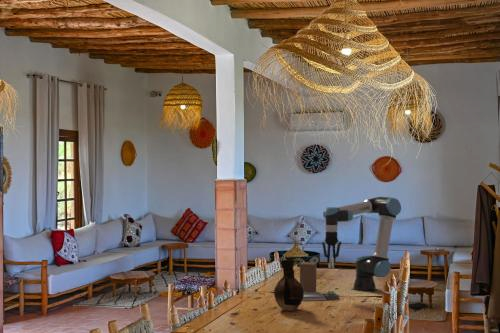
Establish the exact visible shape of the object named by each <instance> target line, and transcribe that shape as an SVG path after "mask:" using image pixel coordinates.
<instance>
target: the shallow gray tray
mask: <svg viewBox="0 0 500 333" xmlns="http://www.w3.org/2000/svg"><path fill="white" fill-rule="evenodd" d="M326 300H327V299H326V298H325V296H324V295H323V293H321V292H320V291H316V292H304V296H303V300H302V302H303V301H307V302H308V301H326Z"/></svg>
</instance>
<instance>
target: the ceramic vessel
mask: <svg viewBox="0 0 500 333" xmlns="http://www.w3.org/2000/svg"><path fill="white" fill-rule="evenodd" d="M279 261H280V265H281V267H282V270H283V276H282V277H281V278H280V279H279V280H278V282H277V283H276V285H275V287H274V290H273V295H274V299H275V302H276V304H277V305H278V307H279V308H280V309H281V310H283V311H287V312H288V311H289V312H294V311H296V310H297V309H298V308H299V306H300V305H301V304H302V302H303V301H302V300H303V296H304V292H303V288H302V286H301V284H300V281H299V280H298V279H297V278H296V277H295V272H296V271H295V270H294V264H295V259H294V258H293V259H286V260H285V259H284V260H279Z"/></svg>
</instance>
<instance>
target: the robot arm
mask: <svg viewBox="0 0 500 333" xmlns="http://www.w3.org/2000/svg"><path fill="white" fill-rule="evenodd" d="M401 211H402V205H401V202H400V201H399V200H398V199H397V198H396V197H389V196H388V197H386V196H375V197H373V198H368V199H365V200H363V201H362V202H361V201H360V202H358V203H357V202H356V203H351V204H347V205H342V206H338V207H336V206H331V207H330V206H329V207H326V208H325V209H324V210H323V212H322V215H323V218H324V219H325V239H324V240H322V241H321V245H322V250H323V255H324V257H325V258H326V262H327V264H328V268H329V269H331V268H332V269H335V263H336V259H337V257H339V256H340V248H341V246H342V243H343V242H342V241H339V239H338V223H340V222H351V221H352V220H353V218H354V216H356V215H361V214H365V213H366V214H378V217H379V223H378V230H377V235H376V241H375V242H376V243H375V248H374V253H372V254H371V255H361V256H360V255H358V256H357V257H356V258H355V260H356V261H355V275H356V276H355V280H354V283H353V286H352V287H353V290H356V291H360V290H362V292H370V291H369V290H373V291H375V289H377V288H376V287H377V286H376V282H375V280H374V277H376V278H385V277H387V276H388V275H389V274H390V272H391V269H392V267H391V262H390V261H389V260H390V258H389V256H388V252H389V248H390V247H389V246H390V240H391V234H392V229H393V225H394V224H393V223H394V221H395V220H396V218H397V216H398V215H399V214H400V213H401ZM326 245H327V247H326ZM326 248H327V249H326ZM331 248H332V257H331Z"/></svg>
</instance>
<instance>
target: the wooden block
mask: <svg viewBox="0 0 500 333" xmlns="http://www.w3.org/2000/svg"><path fill="white" fill-rule="evenodd" d="M317 263H318V262H312V261H302V262H300V264H299V283H300V284H301V286H302V288H303V292H317Z"/></svg>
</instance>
